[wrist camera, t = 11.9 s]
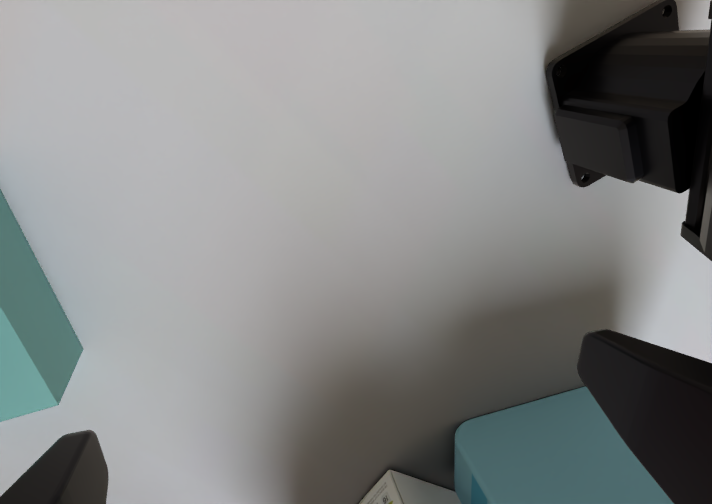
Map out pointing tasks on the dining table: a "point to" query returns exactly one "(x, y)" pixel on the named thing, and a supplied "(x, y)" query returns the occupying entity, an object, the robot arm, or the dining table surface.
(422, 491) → the tea box
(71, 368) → the teal base block
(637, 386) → the robot arm
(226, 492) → the dining table surface
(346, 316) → the dining table surface
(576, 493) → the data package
